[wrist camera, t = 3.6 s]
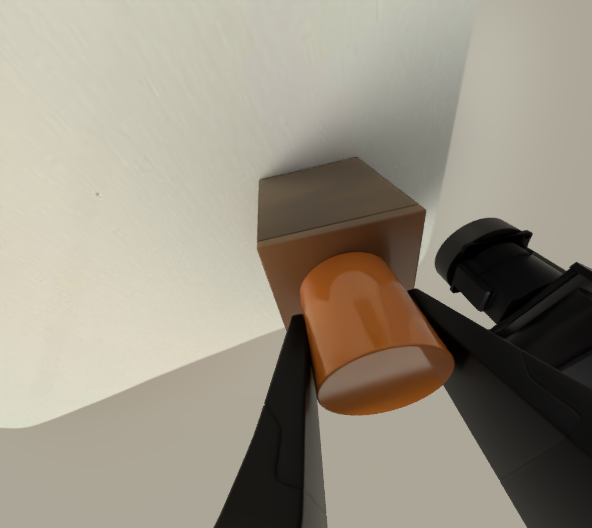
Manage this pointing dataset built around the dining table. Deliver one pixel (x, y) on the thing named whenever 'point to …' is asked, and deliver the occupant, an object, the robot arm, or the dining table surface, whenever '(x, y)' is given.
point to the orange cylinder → (368, 338)
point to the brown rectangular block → (333, 225)
